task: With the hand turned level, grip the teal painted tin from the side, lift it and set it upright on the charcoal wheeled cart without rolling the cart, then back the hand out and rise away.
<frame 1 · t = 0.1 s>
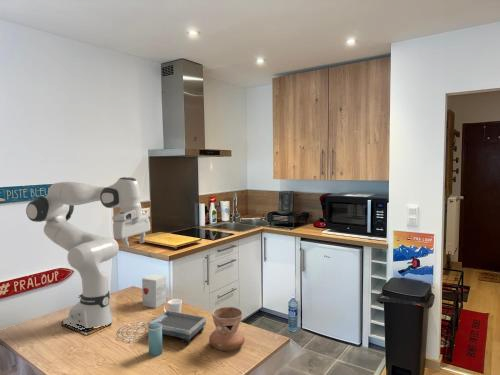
hand: (134, 245, 153), 39 cm above the counter, tool pointing down, fingers open, 8 cm apart
tin: (155, 352, 138), on the counter
cup: (172, 317, 170), on the counter
ceramic jug: (227, 345, 144), on the counter
cart: (177, 327, 153), point 3 cm above the counter, slide at 0.0 cm
supplement box: (154, 304, 186), on the counter
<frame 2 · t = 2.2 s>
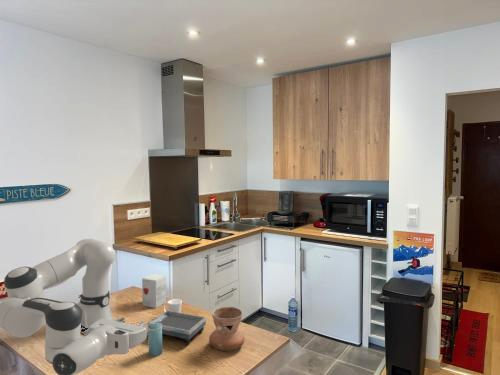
hand: (133, 321, 125), 18 cm above the counter, tool horizontal, fingers open, 8 cm apart
nothing on the counter moved.
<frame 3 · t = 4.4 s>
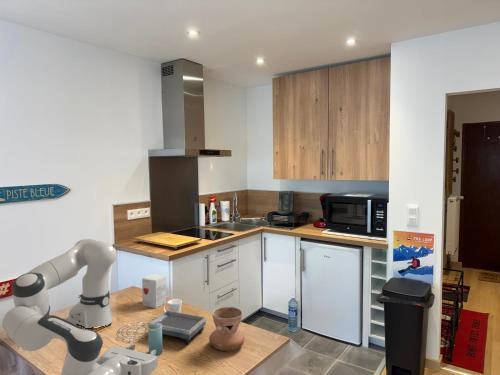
hand: (143, 348, 130), 6 cm above the counter, tool horizontal, fingers open, 8 cm apart
nothing on the counter moved.
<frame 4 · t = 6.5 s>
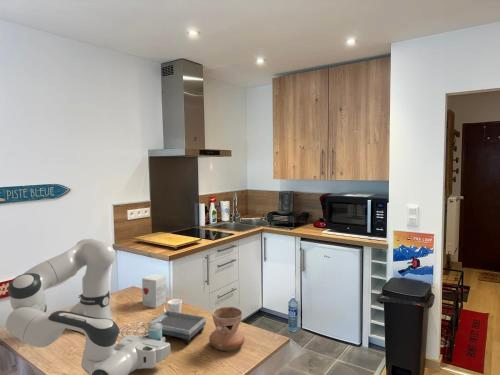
hand: (156, 337, 138), 6 cm above the counter, tool horizontal, fingers closed on tin, 5 cm apart
tin: (155, 352, 138), on the counter, touching gripper
everything else where it was.
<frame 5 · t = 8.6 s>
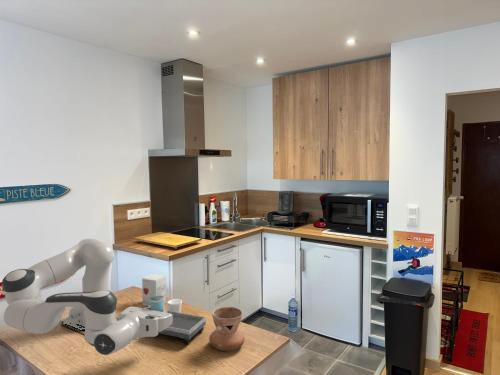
hand: (158, 309, 139), 17 cm above the counter, tool horizontal, fingers closed on tin, 5 cm apart
tin: (157, 325, 138), point 11 cm above the counter, touching gripper
everything else where it was.
when the fingers open (12 cm above the counter, at t = 10.9 s): tin drops 1 cm, resting on cart.
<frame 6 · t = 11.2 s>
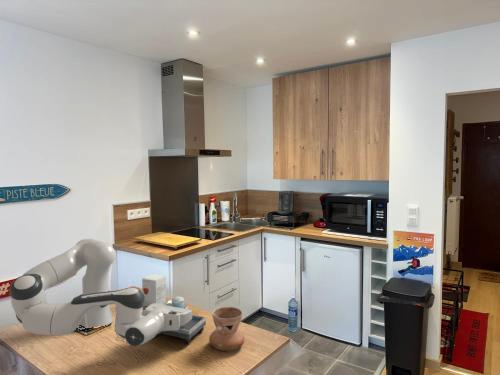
hand: (178, 306, 153), 12 cm above the counter, tool horizontal, fingers open, 8 cm apart
tin: (177, 323, 152), point 5 cm above the counter, touching cart
cart: (177, 327, 153), point 3 cm above the counter, slide at 0.0 cm, touching tin
everything else where it was.
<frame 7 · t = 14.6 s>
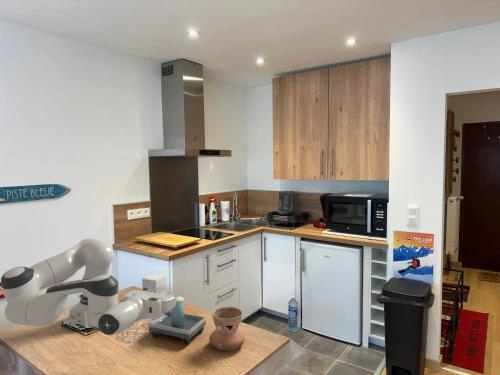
hand: (161, 292, 140), 23 cm above the counter, tool horizontal, fingers open, 8 cm apart
nothing on the counter moved.
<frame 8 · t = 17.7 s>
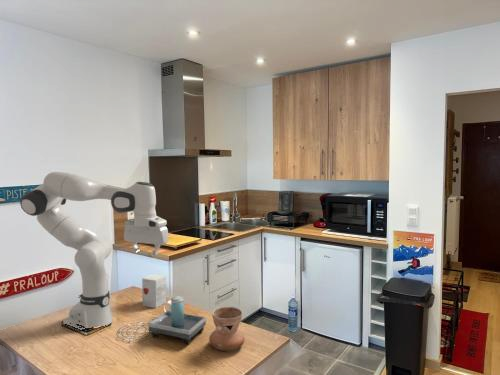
hand: (145, 253, 146), 37 cm above the counter, tool pointing down, fingers open, 8 cm apart
nothing on the counter moved.
at the end: tin inside the target area on the cart (0.0 cm from its centre), point 5.0 cm above the cart's base; tin tilted 0°; cart slide at 0.0 cm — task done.
